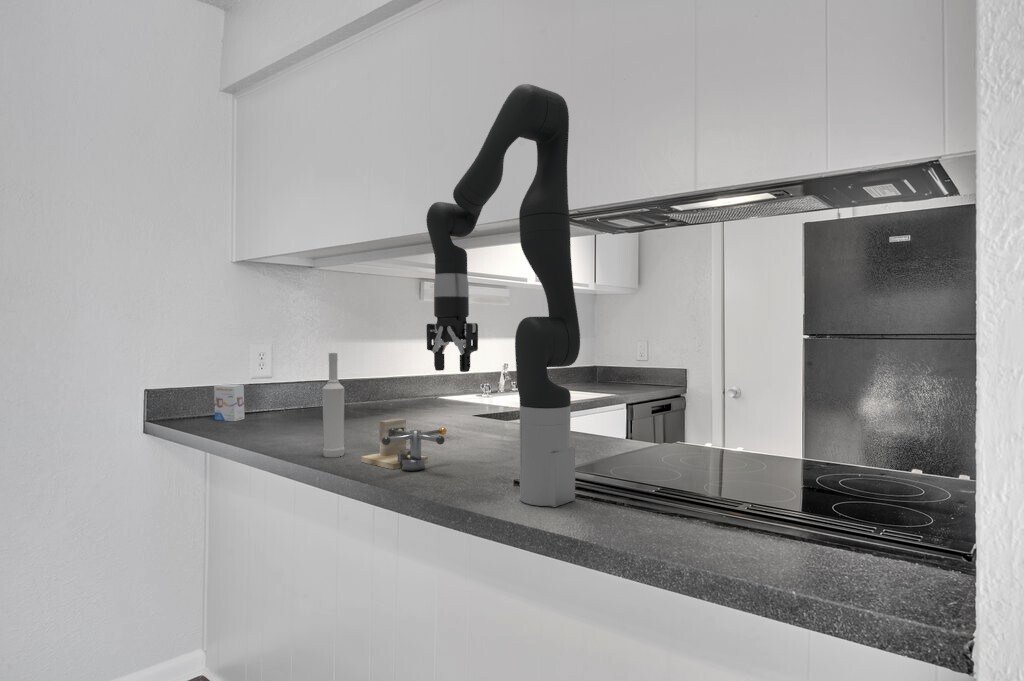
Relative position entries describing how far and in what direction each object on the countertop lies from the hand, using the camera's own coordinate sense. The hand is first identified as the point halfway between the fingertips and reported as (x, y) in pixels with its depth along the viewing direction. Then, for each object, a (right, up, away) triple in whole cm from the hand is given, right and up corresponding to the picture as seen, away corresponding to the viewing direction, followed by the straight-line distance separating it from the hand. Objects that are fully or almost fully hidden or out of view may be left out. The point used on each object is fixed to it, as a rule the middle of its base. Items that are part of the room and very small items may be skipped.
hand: (451, 370), depth 138 cm
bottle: (-30, -22, +16) cm, 41 cm away
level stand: (-13, -22, +8) cm, 26 cm away
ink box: (-82, -20, +74) cm, 112 cm away
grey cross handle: (-8, -22, +1) cm, 23 cm away
